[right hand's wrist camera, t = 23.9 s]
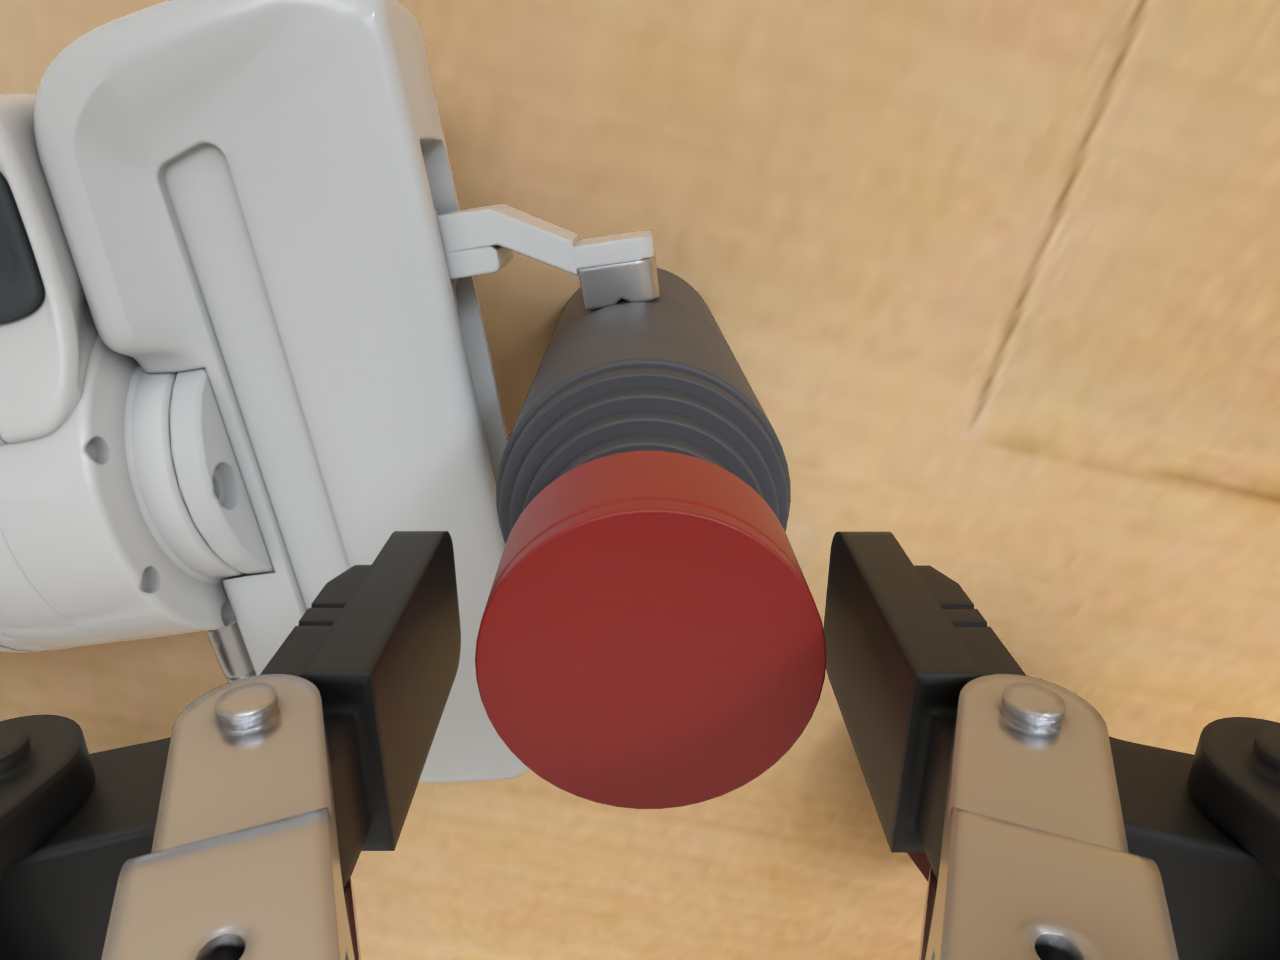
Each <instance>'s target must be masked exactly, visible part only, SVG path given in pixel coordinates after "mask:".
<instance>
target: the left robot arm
mask: <svg viewBox="0 0 1280 960" xmlns="http://www.w3.org/2000/svg"><path fill="white" fill-rule="evenodd" d="M512 251H514V252H517V253H520V254H522V255H525V256H527V257H530V258H533V259H535V260H538V261H540V262H543V263H546V264H548V265H551V266H553V267H556V268H559V269H561V270H564V271H566V272H569V273H572V274H574V275H578V274H579V278H580V284H581V289H582V294H583V300H584V305H585V310H590V309H597V308H605V307H608V306H612V305H615V304H616V303H617V302H618V301H619V300H620V299H621V298H622V299H624V300H626V301H628V302H630V303H631V302H645V301H650V300H654V299H656V298H659V296H660V294H659V285H658V277H657V268H656V260H655V252H654V246H653V239H652V231H651V230H647V231H634V232H627V233H620V234H613V235H607V236H600V237H593V238H586V239H580V240H579V236H578V234H576V233H574V232H571V231H569V230H566V229H564V228H562V227H559V226H557V225H554V224H552V223H550V222H547V221H545V220H542V219H540V218H537V217H535V216H533V215H530V214H528V213H525V212H523V211H521V210H518V209H516V208H513V207H511V206H508V205H506V204H497V205H491V206H484V207H477V208H471V209H464V210H460V208H459V204H458V199H457V194H456V189H455V185H454V180H453V175H452V170H451V166H450V161H449V156H448V152H447V147H446V142H445V137H444V133H443V128H442V123H441V119H440V114H439V109H438V104H437V100H436V95H435V90H434V85H433V81H432V76H431V71H430V66H429V62H428V57H427V52H426V47H425V42H424V38H423V34H422V30H421V27H420V25H419V22H418V20H417V19H416V17H415V16H414V15H413V14H412V12H411V11H410V10H408V9H407V8H406V7H405V6H403V5H402V4H401V3H400V2H398V1H397V0H166V1H163V2H160V3H157V4H155V5H152V6H149V7H146V8H144V9H141V10H138V11H135V12H133V13H130V14H127V15H125V16H122V17H119V18H117V19H114V20H112V21H109V22H107V23H105V24H103V25H101V26H98V27H96V28H94V29H92V30H90V31H88V32H87V33H85V34H83V35H82V36H80V37H78V38H77V39H76V40H74V41H73V42H71V43H70V44H69V45H67V46H66V47H65V48H64V49H63V50H62V51H61V52H60V53H59V54H58V55H57V56H56V57H55V58H54V60H53V61H52V62H51V64H50V65H49V66H48V68H47V69H46V71H45V73H44V75H43V77H42V79H41V81H40V84H39V87H38V90H37V94H33V93H20V94H0V652H11V653H26V652H42V651H49V650H58V649H66V648H74V647H81V646H89V645H97V644H104V643H112V642H120V641H128V640H138V639H146V638H153V637H161V636H169V635H177V634H184V633H192V632H200V631H206V632H207V635H208V637H209V640H210V643H211V645H212V648H213V650H214V653H215V656H216V658H217V661H218V663H219V665H220V667H221V670H222V672H223V674H224V676H225V678H226V679H227V681H228V682H229V683H230V682H233V681H236V680H239V679H243V678H247V677H251V676H257V675H260V674H261V672H262V671H263V670H264V668H265V667H266V665H267V664H268V663H269V661H270V660H271V659H272V657H273V656H274V655H275V653H276V652H277V650H278V649H279V648H280V646H281V645H282V644H283V642H284V641H285V639H286V638H287V637H288V635H289V634H290V633H291V631H292V630H293V628H294V627H295V626H298V625H299V620H300V619H301V618H302V616H303V615H304V613H305V612H306V611H307V609H308V608H311V604H312V602H313V601H314V600H315V598H316V597H317V596H318V594H319V593H320V591H321V590H322V589H323V587H324V586H325V585H326V583H327V582H329V581H331V580H332V579H334V578H335V577H337V576H338V575H340V574H342V573H343V572H345V571H346V570H348V569H349V568H351V567H353V566H354V565H372V563H373V562H374V560H375V559H376V557H377V556H378V554H379V553H380V551H381V550H382V548H383V546H384V545H385V543H386V542H387V540H388V539H389V537H390V536H391V534H392V533H393V532H394V531H448V532H449V534H450V536H451V539H452V543H453V550H454V561H455V572H456V583H457V594H458V605H459V616H460V627H461V650H460V660H459V666H458V670H457V674H456V677H455V680H454V683H453V685H452V688H451V691H450V694H449V697H448V700H447V702H446V705H445V708H444V711H443V714H442V717H441V719H440V722H439V725H438V728H437V731H436V734H435V737H434V739H433V742H432V745H431V748H430V751H429V754H428V756H427V759H426V762H425V765H424V768H423V771H422V773H421V776H420V779H419V782H418V783H454V782H480V781H493V780H504V779H511V778H515V777H519V776H521V775H523V774H524V773H525V772H527V771H528V770H529V768H528V767H527V766H525V765H524V764H523V763H522V762H521V761H520V760H519V759H518V758H517V757H516V756H515V755H514V754H513V753H512V752H511V751H510V750H509V748H508V747H507V746H506V744H505V743H504V742H503V741H502V739H501V738H500V737H499V735H498V734H497V732H496V730H495V728H494V727H493V725H492V723H491V721H490V720H489V718H488V716H487V713H486V711H485V708H484V705H483V703H482V700H481V697H480V693H479V689H478V684H477V680H476V668H475V653H476V640H477V636H478V632H479V628H480V623H481V620H482V616H483V613H484V610H485V607H486V604H487V601H488V597H489V594H490V591H491V588H492V585H493V582H494V578H495V575H496V572H497V569H498V566H499V563H500V560H501V556H502V553H503V550H504V547H505V542H504V539H503V536H502V532H501V528H500V525H499V520H498V514H497V507H496V484H497V477H498V469H499V466H500V462H501V459H502V455H503V452H504V449H505V447H506V445H507V442H508V435H507V430H506V425H505V421H504V416H503V411H502V407H501V402H500V397H499V392H498V388H497V383H496V378H495V374H494V369H493V364H492V359H491V355H490V350H489V345H488V340H487V336H486V331H485V326H484V322H483V317H482V312H481V307H480V303H479V298H478V293H477V289H476V284H475V279H474V276H476V275H482V274H488V273H494V272H497V271H498V270H499V269H501V268H502V267H503V266H504V265H505V264H507V263H508V262H509V261H510V260H511V258H512V257H513V254H512Z"/></svg>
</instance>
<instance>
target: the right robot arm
mask: <svg viewBox="0 0 1280 960" xmlns="http://www.w3.org/2000/svg"><path fill="white" fill-rule="evenodd" d="M824 635H825V640H826V670H827V674H828V677H829V680H830V683H831V685H832V688H833V691H834V694H835V697H836V699H837V702H838V705H839V708H840V710H841V713H842V716H843V719H844V722H845V724H846V727H847V730H848V733H849V735H850V738H851V741H852V744H853V747H854V749H855V752H856V755H857V758H858V760H859V763H860V766H861V769H862V772H863V774H864V777H865V780H866V783H867V785H868V788H869V791H870V794H871V797H872V799H873V802H874V805H875V808H876V810H877V813H878V816H879V819H880V822H881V824H882V827H883V830H884V833H885V835H886V838H887V841H888V844H889V847H890V849H891V852H925V853H926V856H927V858H928V861H929V863H930V865H931V869H930V875H929V881H928V887H927V893H926V900H925V909H924V918H923V927H922V936H921V945H920V954H919V960H1280V723H1277V722H1273V721H1268V720H1263V719H1256V718H1247V717H1232V718H1223V719H1219V720H1216V721H1213V722H1211V723H1209V724H1208V725H1207V726H1206V727H1205V728H1204V729H1203V731H1202V733H1201V735H1200V739H1199V742H1198V745H1197V749H1196V752H1195V755H1192V754H1187V753H1182V752H1177V751H1172V750H1167V749H1161V748H1156V747H1151V746H1146V745H1141V744H1136V743H1132V742H1127V741H1123V740H1119V739H1116V738H1112V737H1109V735H1108V729H1107V726H1106V723H1105V721H1104V720H1103V718H1102V716H1101V715H1100V714H1099V713H1098V712H1097V710H1096V709H1095V708H1094V707H1093V706H1091V705H1090V704H1089V703H1088V702H1087V701H1085V700H1084V699H1082V698H1081V697H1079V696H1078V695H1076V694H1075V693H1073V692H1071V691H1069V690H1067V689H1065V688H1063V687H1060V686H1058V685H1056V684H1053V683H1050V682H1047V681H1044V680H1041V679H1037V678H1033V677H1029V676H1026V675H1025V673H1024V672H1023V671H1022V669H1021V668H1020V667H1019V665H1018V664H1017V662H1016V661H1015V660H1014V658H1013V657H1012V656H1011V654H1010V653H1009V652H1008V650H1007V649H1006V648H1005V646H1004V645H1003V644H1002V642H1001V641H1000V640H999V638H998V637H997V635H996V634H995V633H994V631H993V630H992V629H991V627H987V622H986V621H985V619H984V618H983V617H982V615H981V614H980V612H979V611H978V610H977V609H974V604H973V603H972V602H971V600H970V599H969V598H968V596H967V595H966V594H965V592H964V591H963V590H962V588H961V587H960V585H959V584H958V583H956V582H955V581H953V580H951V579H950V578H948V577H947V576H945V575H944V574H942V573H940V572H939V571H937V570H936V569H934V568H933V567H931V566H913V564H912V563H911V561H910V560H909V558H908V557H907V555H906V554H905V552H904V550H903V549H902V547H901V546H900V544H899V543H898V541H897V540H896V538H895V537H894V535H893V534H892V533H891V532H836V533H835V535H834V537H833V541H832V546H831V554H830V564H829V575H828V586H827V597H826V608H825V618H824ZM460 650H461V627H460V616H459V605H458V594H457V583H456V572H455V561H454V550H453V543H452V539H451V536H450V534H449V532H448V531H394V532H393V533H392V534H391V536H390V537H389V539H388V540H387V542H386V543H385V545H384V546H383V548H382V550H381V551H380V553H379V554H378V556H377V557H376V559H375V560H374V562H373V563H372V565H354V566H353V567H351V568H349V569H348V570H346V571H345V572H343V573H342V574H340V575H338V576H337V577H335V578H334V579H332V580H331V581H329V582H327V583H326V585H325V586H324V587H323V589H322V590H321V591H320V593H319V594H318V596H317V597H316V598H315V600H314V601H313V602H312V604H311V608H308V609H307V611H306V612H305V613H304V615H303V616H302V618H301V619H300V620H299V625H298V626H295V627H294V628H293V630H292V631H291V633H290V634H289V635H288V637H287V638H286V639H285V641H284V642H283V644H282V645H281V646H280V648H279V649H278V650H277V652H276V653H275V655H274V656H273V657H272V659H271V660H270V661H269V663H268V664H267V665H266V667H265V668H264V670H263V671H262V672H261V674H260V675H257V676H251V677H247V678H243V679H239V680H236V681H233V682H230V683H227V684H224V685H222V686H220V687H217V688H215V689H213V690H211V691H209V692H207V693H205V694H204V695H202V696H201V697H199V698H198V699H196V700H195V701H193V702H192V703H191V704H190V705H189V706H187V707H186V708H185V709H184V710H183V712H182V713H181V714H180V715H179V716H178V718H177V720H176V721H175V723H174V726H173V729H172V735H171V737H170V738H166V739H162V740H157V741H153V742H148V743H143V744H138V745H133V746H128V747H123V748H118V749H113V750H108V751H103V752H98V753H93V754H89V752H88V749H87V746H86V742H85V739H84V736H83V732H82V730H81V728H80V726H79V725H78V724H77V723H76V722H75V721H73V720H71V719H68V718H66V717H61V716H56V715H32V716H25V717H18V718H14V719H9V720H5V721H1V722H0V960H361V954H360V945H359V936H358V927H357V918H356V909H355V900H354V893H353V887H352V881H351V875H352V872H353V870H354V867H355V865H356V862H357V860H358V857H359V855H360V852H361V851H394V850H395V847H396V844H397V841H398V839H399V836H400V833H401V830H402V827H403V824H404V822H405V819H406V816H407V813H408V810H409V807H410V805H411V802H412V799H413V796H414V793H415V790H416V788H417V785H418V782H419V779H420V776H421V773H422V771H423V768H424V765H425V762H426V759H427V756H428V754H429V751H430V748H431V745H432V742H433V739H434V737H435V734H436V731H437V728H438V725H439V722H440V719H441V717H442V714H443V711H444V708H445V705H446V702H447V700H448V697H449V694H450V691H451V688H452V685H453V683H454V680H455V677H456V674H457V670H458V666H459V660H460Z"/></svg>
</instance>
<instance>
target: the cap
mask: <svg viewBox="0 0 1280 960" xmlns="http://www.w3.org/2000/svg"><path fill="white" fill-rule="evenodd" d="M475 668H476V680H477V684H478V689H479V693H480V697H481V700H482V703H483V705H484V708H485V711H486V713H487V716H488V718H489V720H490V721H491V723H492V725H493V727H494V728H495V730H496V732H497V734H498V735H499V737H500V738H501V739H502V741H503V742H504V743H505V744H506V746H507V747H508V748H509V750H510V751H511V752H512V753H513V754H514V755H515V756H516V757H517V758H518V759H519V760H520V761H521V762H522V763H523V764H524V765H525V766H527V767H528V768H529V769H531V770H532V771H533V772H535V773H536V774H537V775H538V776H540V777H541V778H543V779H545V780H546V781H548V782H550V783H551V784H553V785H555V786H556V787H558V788H560V789H562V790H565V791H567V792H569V793H571V794H574V795H576V796H578V797H581V798H585V799H588V800H591V801H594V802H597V803H602V804H607V805H612V806H616V807H625V808H635V809H662V808H672V807H681V806H686V805H690V804H695V803H700V802H703V801H706V800H709V799H712V798H715V797H719V796H722V795H724V794H726V793H728V792H730V791H733V790H735V789H737V788H739V787H741V786H743V785H745V784H746V783H748V782H750V781H751V780H753V779H755V778H756V777H758V776H760V775H761V774H762V773H763V772H765V771H766V770H767V769H769V768H770V767H771V766H773V765H774V764H775V763H776V762H777V761H778V760H779V759H780V758H781V757H782V756H783V755H784V754H785V753H786V752H787V751H788V750H789V749H790V748H791V747H792V746H793V744H794V743H795V742H796V740H797V739H798V738H799V737H800V735H801V734H802V733H803V731H804V729H805V727H806V726H807V724H808V722H809V721H810V719H811V717H812V715H813V713H814V710H815V708H816V706H817V703H818V701H819V698H820V694H821V691H822V687H823V683H824V679H825V669H826V640H825V635H824V630H823V625H822V621H821V618H820V615H819V612H818V610H817V607H816V605H815V602H814V599H813V597H812V595H811V592H810V590H809V588H808V585H807V583H806V580H805V578H804V576H803V573H802V571H801V568H800V566H799V564H798V561H797V559H796V557H795V554H794V552H793V549H792V547H791V545H790V542H789V540H788V538H787V535H786V533H785V531H784V529H783V527H782V525H781V523H780V522H779V520H778V518H777V516H776V515H775V513H774V512H773V511H772V509H771V508H770V507H769V505H768V504H767V503H766V501H765V500H764V499H763V498H762V497H761V496H760V495H759V494H758V493H757V492H756V491H755V490H754V489H753V488H752V487H750V486H749V485H748V484H746V483H745V482H744V481H742V480H741V479H740V478H738V477H737V476H736V475H734V474H732V473H730V472H729V471H727V470H725V469H723V468H721V467H720V466H718V465H715V464H713V463H710V462H708V461H705V460H703V459H700V458H696V457H692V456H689V455H685V454H681V453H674V452H666V451H632V452H624V453H617V454H613V455H609V456H605V457H601V458H597V459H595V460H592V461H590V462H587V463H585V464H582V465H580V466H578V467H576V468H574V469H572V470H570V471H568V472H567V473H565V474H563V475H561V476H560V477H559V478H557V479H556V480H554V481H553V482H552V483H550V484H549V485H548V486H546V487H545V488H544V489H543V490H542V491H541V492H540V493H539V494H538V495H537V496H536V497H535V498H534V499H533V500H532V501H531V502H530V503H529V504H528V506H527V507H526V508H525V510H524V511H523V512H522V513H521V515H520V516H519V518H518V520H517V521H516V523H515V525H514V527H513V528H512V530H511V532H510V535H509V537H508V540H507V542H506V545H505V547H504V550H503V553H502V556H501V560H500V563H499V566H498V569H497V572H496V575H495V578H494V582H493V585H492V588H491V591H490V594H489V597H488V601H487V604H486V607H485V610H484V613H483V616H482V620H481V623H480V628H479V632H478V636H477V640H476V653H475Z"/></svg>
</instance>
